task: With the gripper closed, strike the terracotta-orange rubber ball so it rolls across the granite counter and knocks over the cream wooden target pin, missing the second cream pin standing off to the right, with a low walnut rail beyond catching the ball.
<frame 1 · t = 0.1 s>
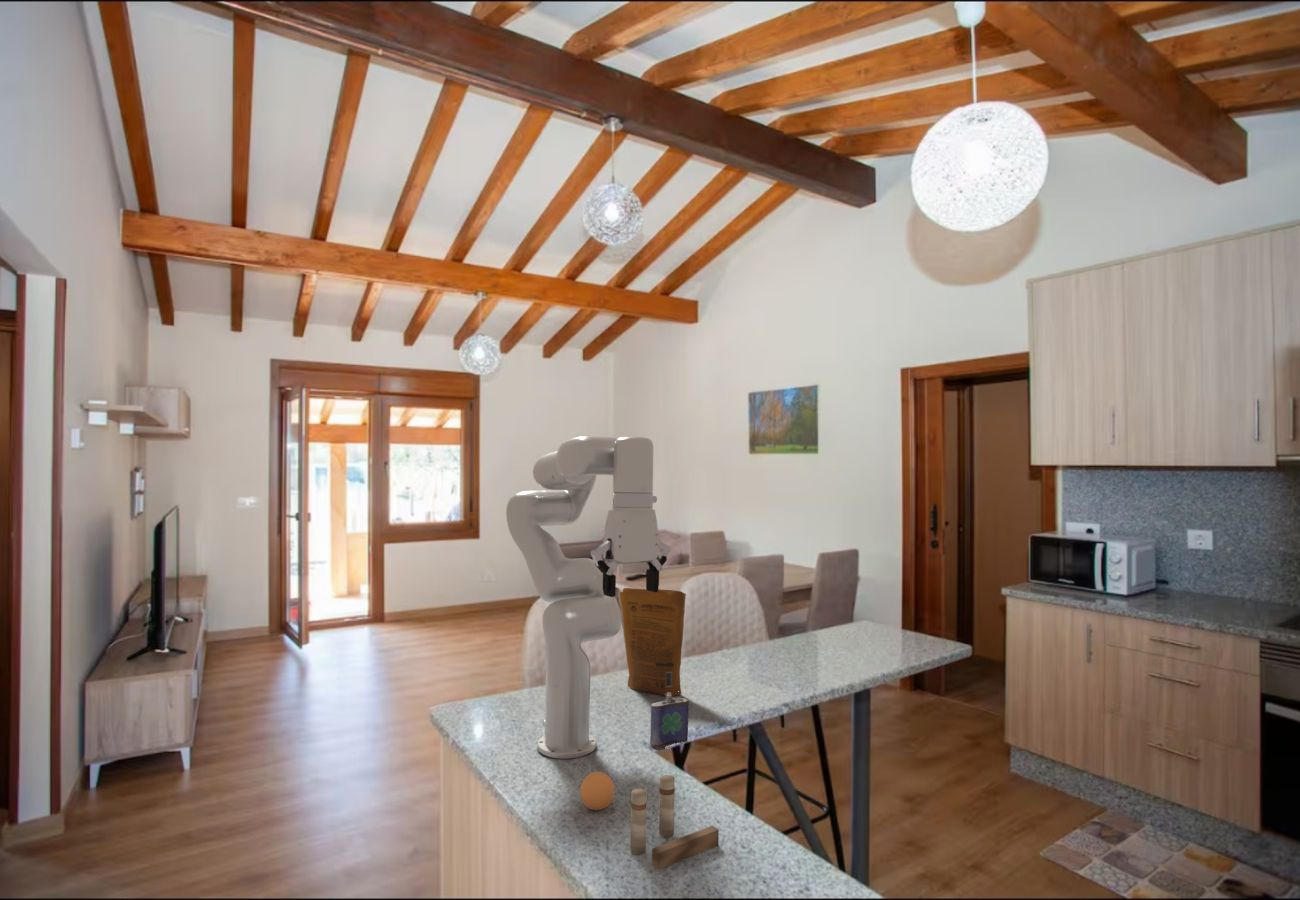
hand: (631, 593, 125), 37 cm above the counter, tool pointing down, fingers open, 9 cm apart
pin side: (638, 850, 105), on the counter
pancake mix bag: (652, 692, 181), on the counter
flask: (668, 743, 147), on the counter
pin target: (666, 833, 110), on the counter
ball: (597, 790, 118), on the counter
back rail: (686, 855, 104), on the counter
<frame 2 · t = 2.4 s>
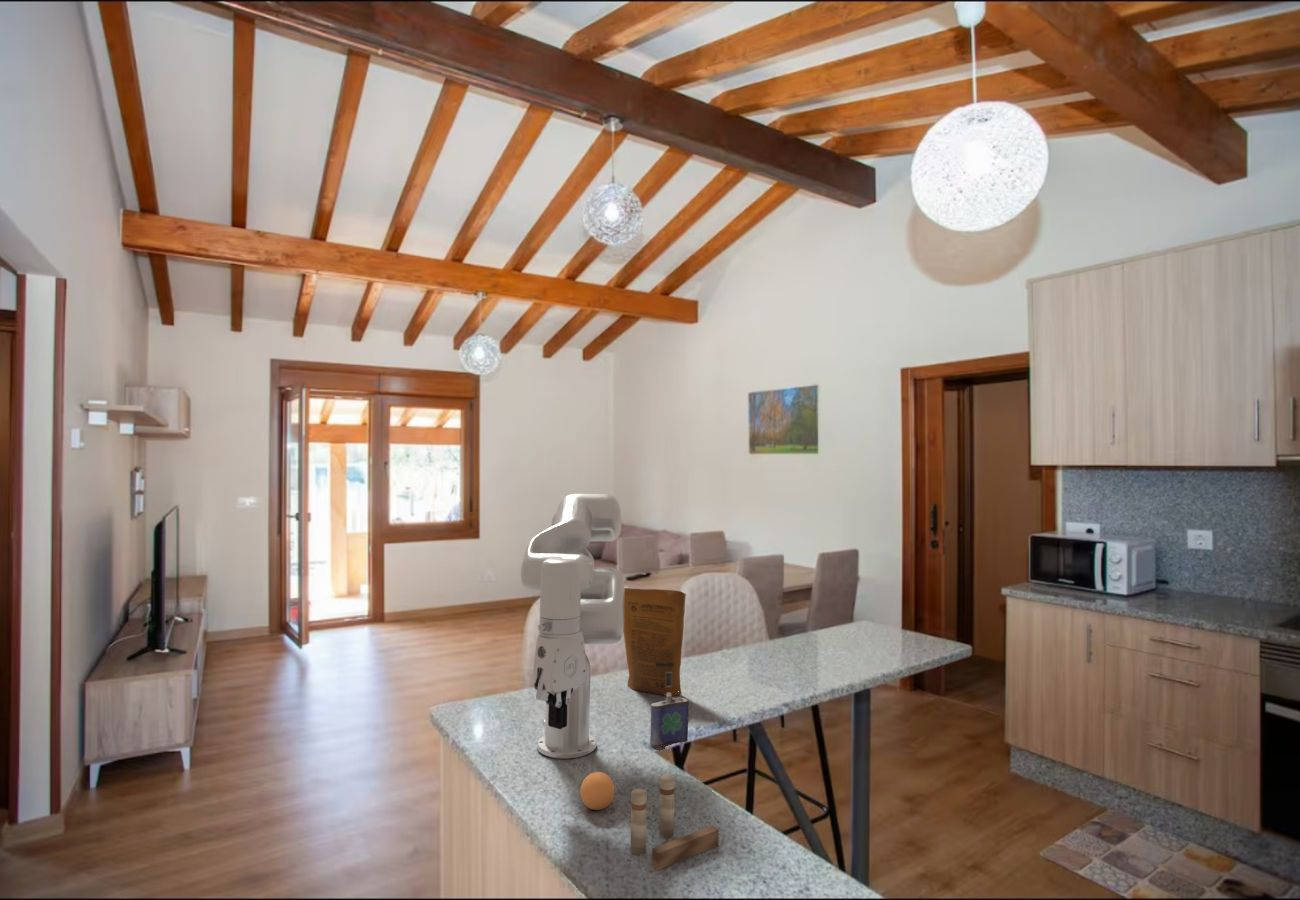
hand: (557, 726, 123), 12 cm above the counter, tool pointing down, fingers closed
nothing on the counter moved.
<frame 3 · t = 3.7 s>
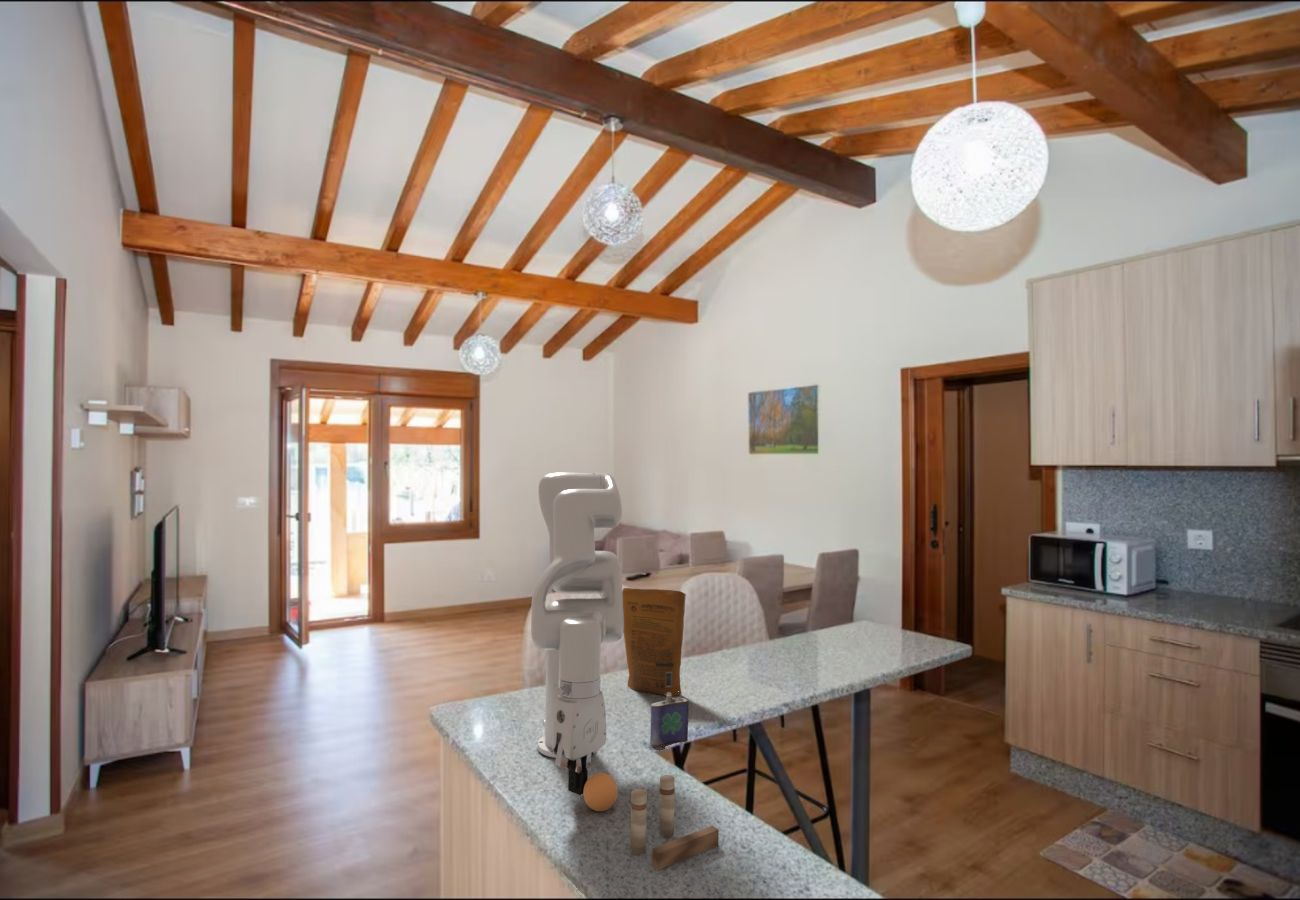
hand: (577, 791, 120), 2 cm above the counter, tool pointing down, fingers closed
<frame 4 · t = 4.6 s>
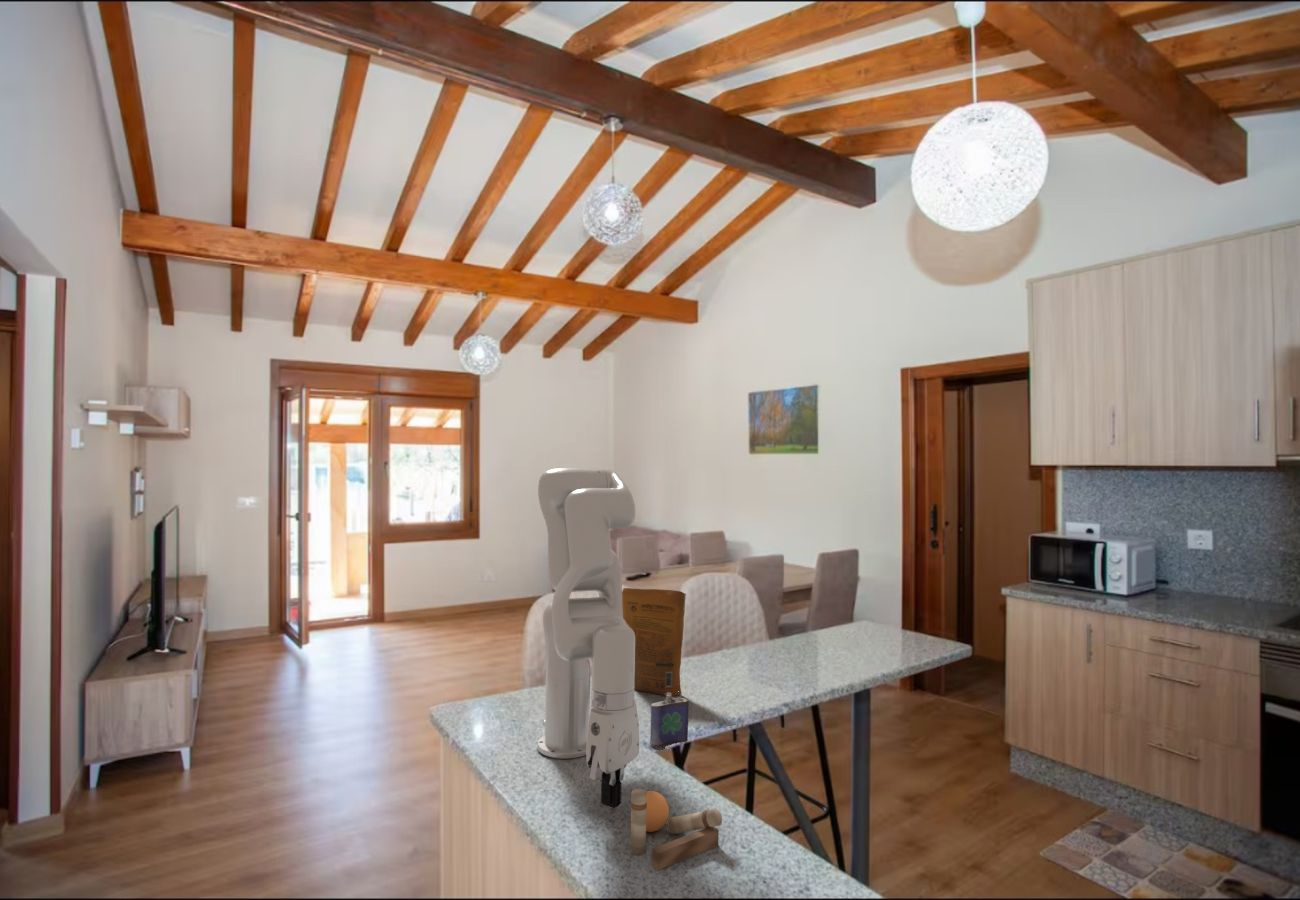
hand: (610, 804, 116), 2 cm above the counter, tool pointing down, fingers closed
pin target: (672, 825, 110), point 1 cm above the counter, tilted 66°
ball: (650, 811, 111), on the counter
everything else where it was.
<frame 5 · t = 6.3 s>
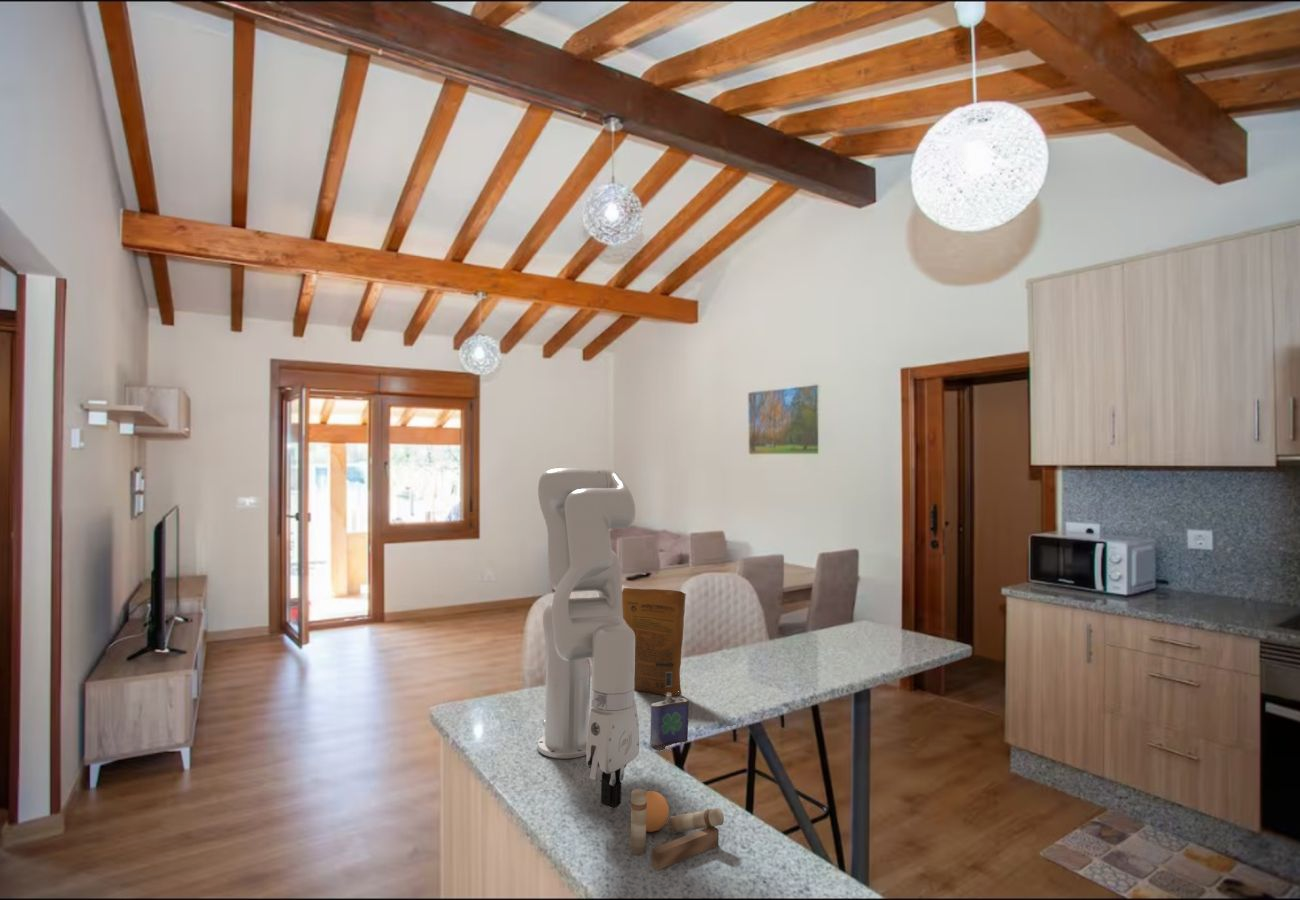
hand: (610, 804, 116), 2 cm above the counter, tool pointing down, fingers closed
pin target: (673, 824, 111), point 1 cm above the counter, tilted 67°, touching back rail
everything else where it was.
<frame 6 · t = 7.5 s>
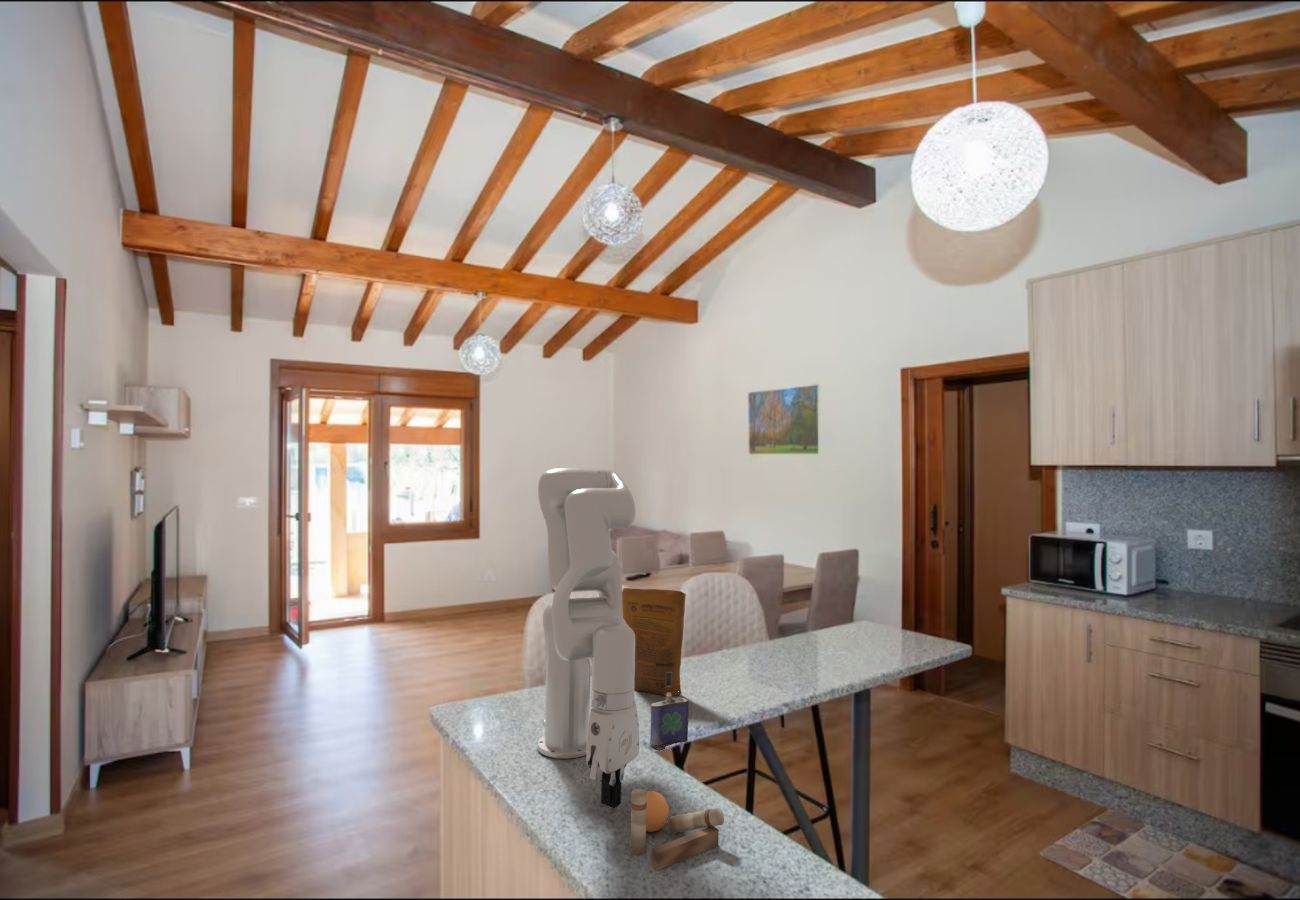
hand: (610, 804, 116), 2 cm above the counter, tool pointing down, fingers closed
nothing on the counter moved.
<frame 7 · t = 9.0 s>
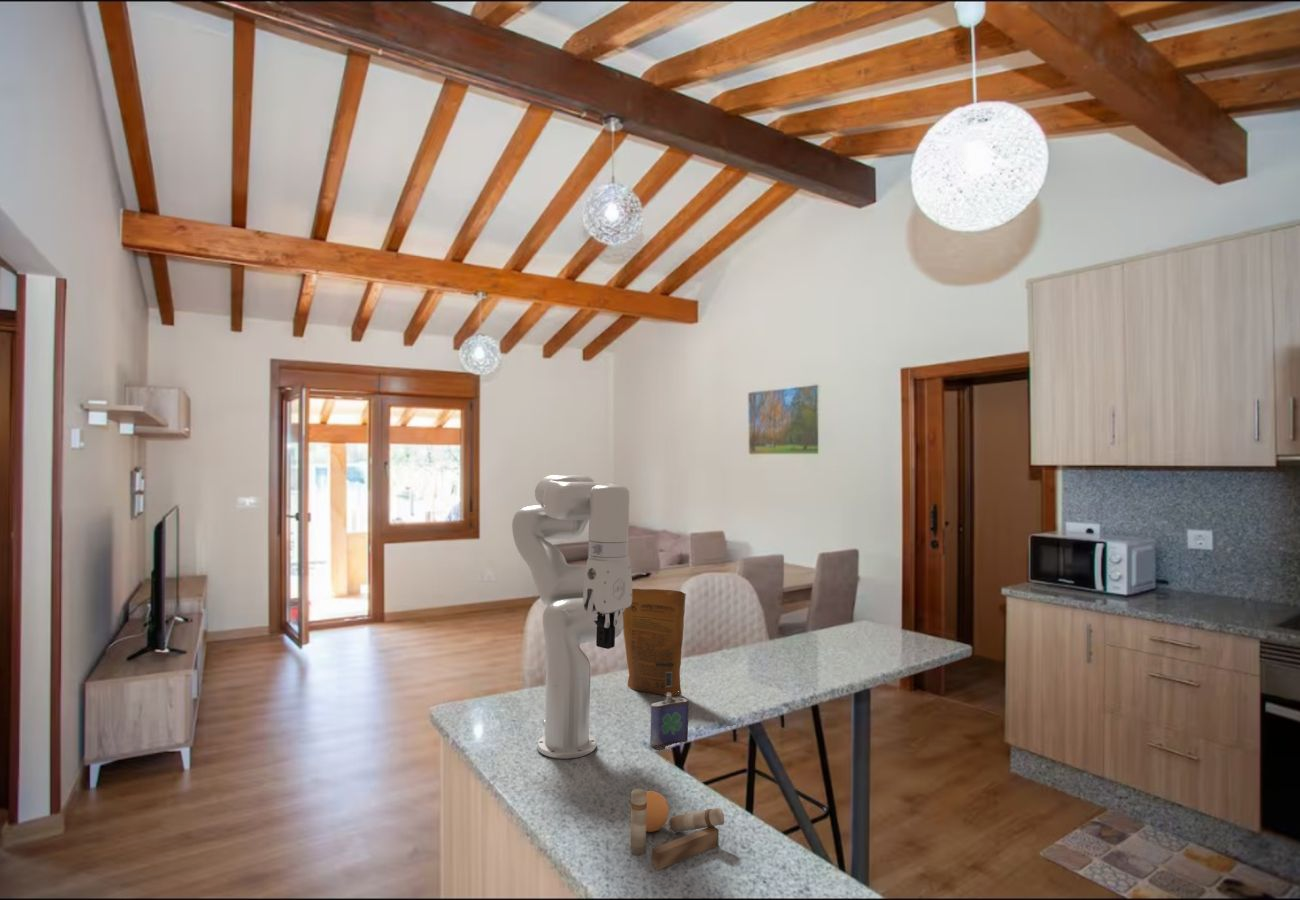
hand: (605, 646, 127), 26 cm above the counter, tool pointing down, fingers closed
nothing on the counter moved.
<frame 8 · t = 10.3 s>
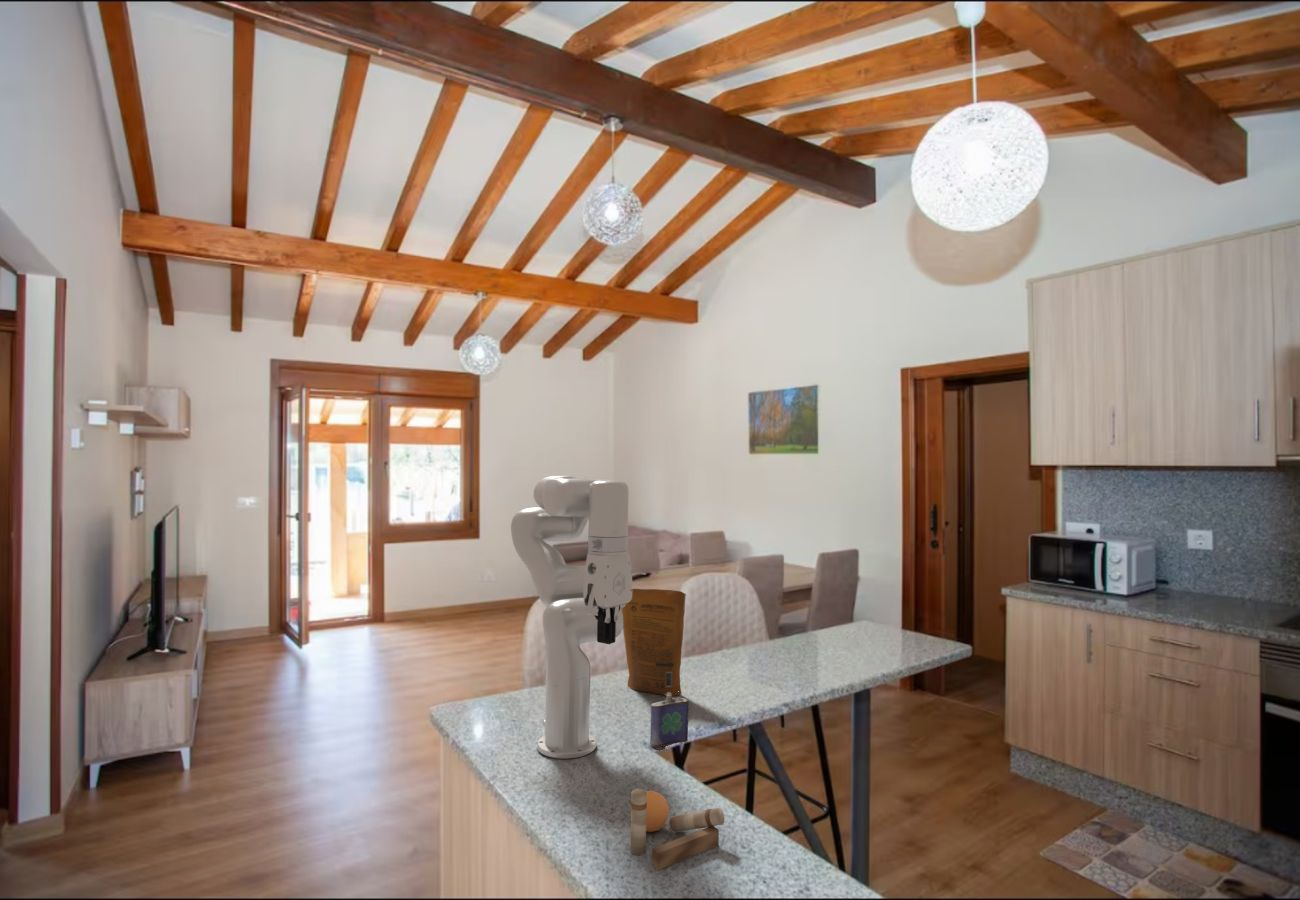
hand: (606, 642, 127), 27 cm above the counter, tool pointing down, fingers closed
nothing on the counter moved.
at the end: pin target tilted 68°; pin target never touched the robot; ball moved 11.6 cm from its start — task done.
